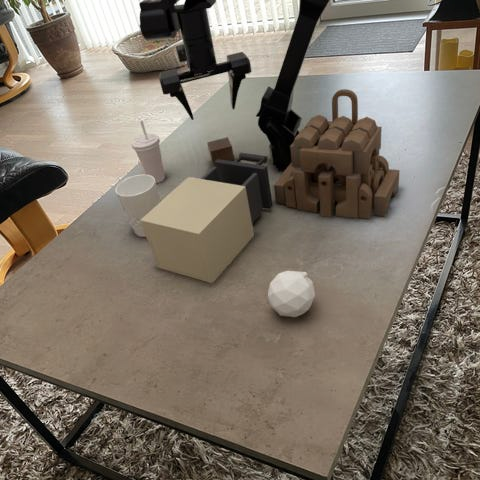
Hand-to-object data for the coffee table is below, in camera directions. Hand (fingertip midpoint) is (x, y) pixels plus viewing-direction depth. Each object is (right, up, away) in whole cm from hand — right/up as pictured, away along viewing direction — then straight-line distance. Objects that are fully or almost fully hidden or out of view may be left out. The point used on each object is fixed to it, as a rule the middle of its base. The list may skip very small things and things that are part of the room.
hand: (212, 114), depth 106 cm
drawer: (+5, -24, -9) cm, 26 cm away
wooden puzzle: (+25, -20, -9) cm, 34 cm away
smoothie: (-14, -12, +9) cm, 20 cm away
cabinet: (0, -32, -15) cm, 35 cm away
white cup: (-13, -26, -6) cm, 30 cm away
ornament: (+14, -44, -29) cm, 54 cm away
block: (+2, -8, +8) cm, 12 cm away
